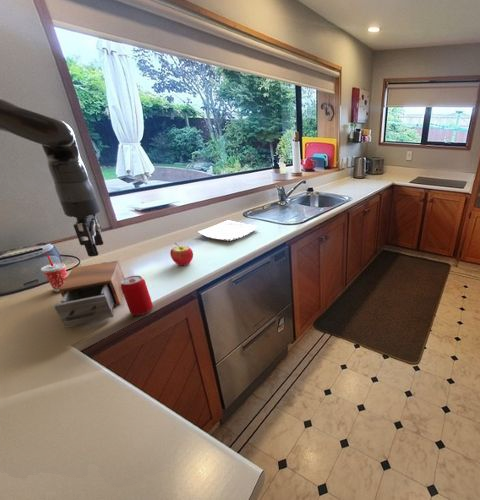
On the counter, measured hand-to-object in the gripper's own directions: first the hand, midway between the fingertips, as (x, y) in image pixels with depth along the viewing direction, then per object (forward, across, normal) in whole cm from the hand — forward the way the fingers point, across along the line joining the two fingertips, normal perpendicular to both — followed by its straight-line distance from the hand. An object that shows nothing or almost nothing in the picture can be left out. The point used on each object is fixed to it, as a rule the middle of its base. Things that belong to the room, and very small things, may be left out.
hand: (96, 250), depth 84 cm
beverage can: (+22, +5, +7) cm, 23 cm away
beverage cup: (+22, -23, -18) cm, 37 cm away
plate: (+21, -54, +44) cm, 73 cm away
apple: (+21, -26, +21) cm, 39 cm away
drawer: (+21, +1, -6) cm, 21 cm away
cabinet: (+22, -10, -6) cm, 24 cm away
